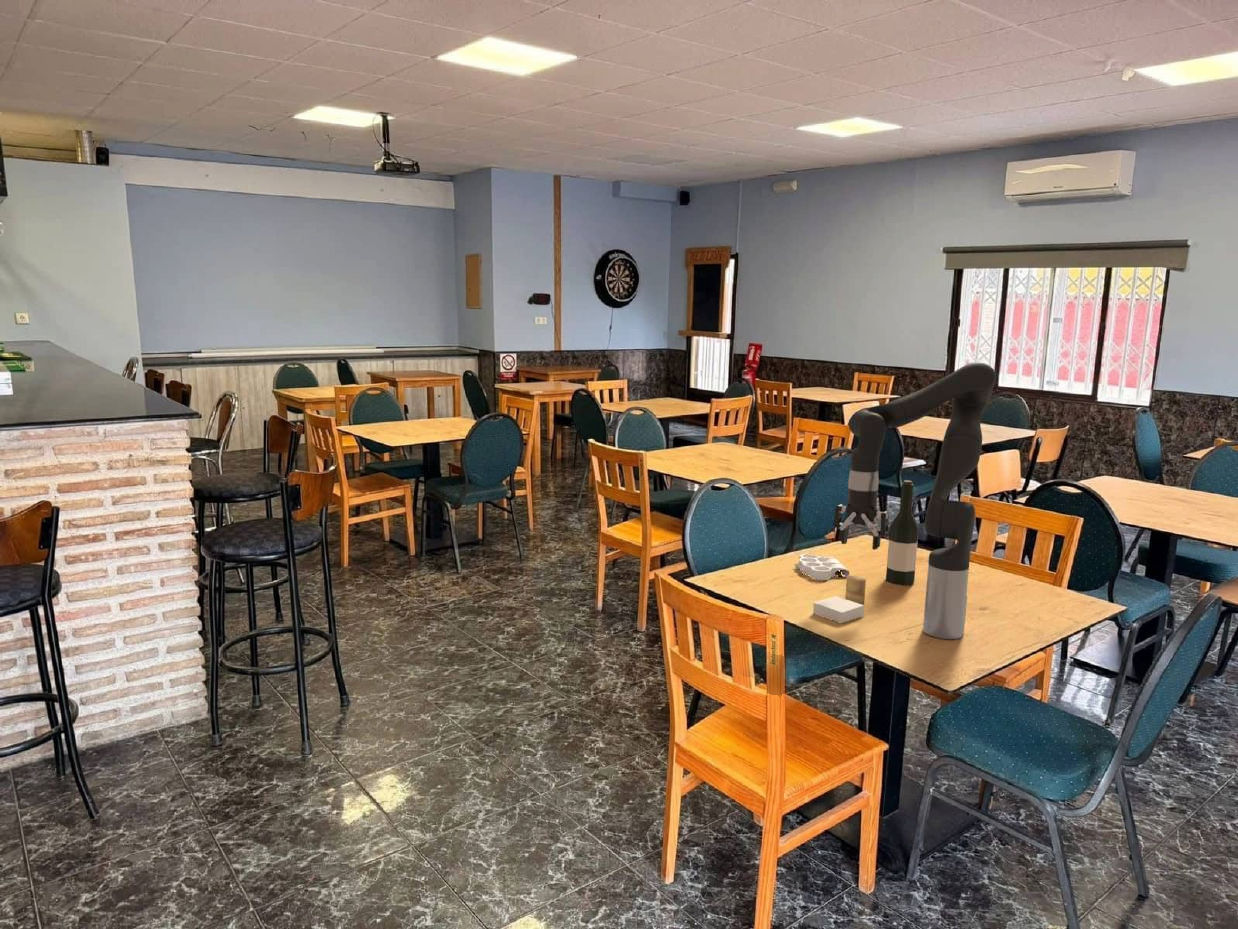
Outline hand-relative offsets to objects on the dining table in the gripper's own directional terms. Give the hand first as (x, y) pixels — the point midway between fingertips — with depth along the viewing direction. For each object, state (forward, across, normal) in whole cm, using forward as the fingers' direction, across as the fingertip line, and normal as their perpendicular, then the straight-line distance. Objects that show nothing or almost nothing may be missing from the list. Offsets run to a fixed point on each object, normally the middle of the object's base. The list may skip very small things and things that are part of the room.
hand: (859, 546), depth 222 cm
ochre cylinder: (+16, 0, 0) cm, 16 cm away
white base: (+16, 0, +12) cm, 20 cm away
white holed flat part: (+17, +20, -20) cm, 33 cm away
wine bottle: (+16, -3, -27) cm, 31 cm away
